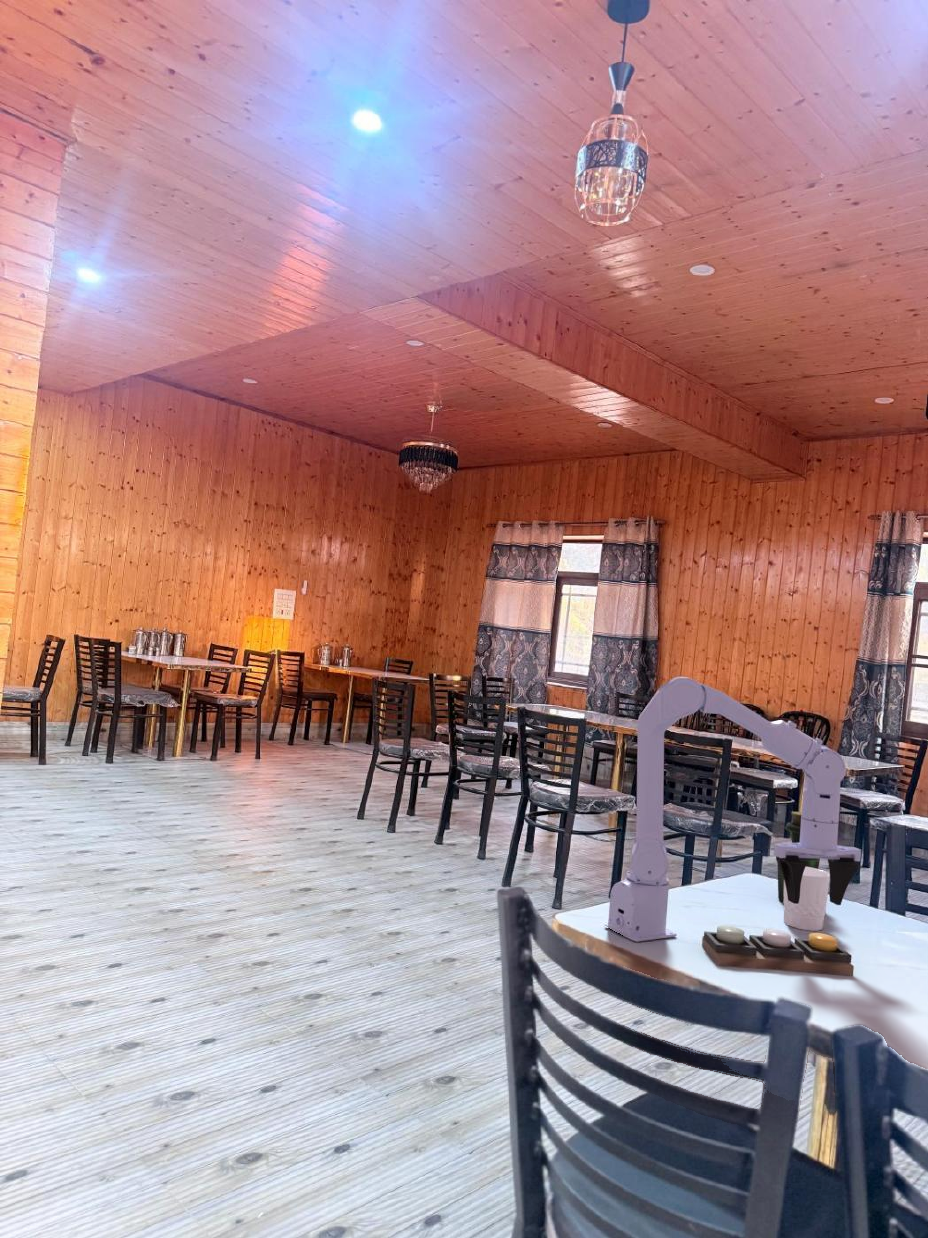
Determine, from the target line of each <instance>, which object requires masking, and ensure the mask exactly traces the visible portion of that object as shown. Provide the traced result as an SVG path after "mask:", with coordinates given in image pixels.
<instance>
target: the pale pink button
mask: <svg viewBox="0 0 928 1238" xmlns="http://www.w3.org/2000/svg"><path fill="white" fill-rule="evenodd" d="M762 936H763V942H765V943H767V944H769V945H773V946H777V947H789V946H790V942H791V941H792V935H791V934H790V933H788V932H786V931H782V930H778V929H773V928H772V929H770V928H769V929H763V931H762Z"/></svg>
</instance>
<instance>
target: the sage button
mask: <svg viewBox="0 0 928 1238" xmlns="http://www.w3.org/2000/svg"><path fill="white" fill-rule="evenodd" d="M716 932H717V936H716V937H717V938H718V939H719V940H722V941H725V942H729V943H743V942H744V936H745V931H744V930H743V929H741V928H738V927H734V926H730V925H718V926H717V927H716Z"/></svg>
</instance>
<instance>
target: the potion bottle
mask: <svg viewBox="0 0 928 1238" xmlns="http://www.w3.org/2000/svg"><path fill="white" fill-rule="evenodd" d="M801 815H802V811H791V820H792V822H787V823H786V825H785V826H784V829H785V831H788V832H789V835H790V839H791V843H800V829H801ZM813 855H815V854H813ZM798 860H800V862H801V863H803V864H805V865H806V867H811V868H816V869H820V862H821V861H820V860H821V859H817V858H799V859H798ZM777 894H778V895H777V896H778V897H777V898H778V900H779V901H780V902H781V903H783V904H784V877H783V874H782V872H781V869H780V867H779V865H778V864H777Z"/></svg>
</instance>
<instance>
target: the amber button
mask: <svg viewBox="0 0 928 1238" xmlns="http://www.w3.org/2000/svg"><path fill="white" fill-rule="evenodd" d="M808 940H809V945H810V946H812V947H814V948H817V949H821V950H826V951H835V950H837V945H838V939H837V938H836V937H835V936H832V935H829V934H826V933H822V932H821V933H820V932H811V933H810V932H809V934H808Z"/></svg>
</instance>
